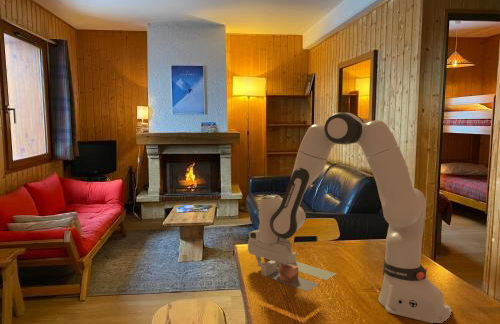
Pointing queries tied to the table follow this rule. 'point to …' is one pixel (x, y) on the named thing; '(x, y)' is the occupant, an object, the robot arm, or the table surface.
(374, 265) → the table surface
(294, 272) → the terracotta block
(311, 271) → the sage green strip
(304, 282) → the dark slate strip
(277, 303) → the table surface
